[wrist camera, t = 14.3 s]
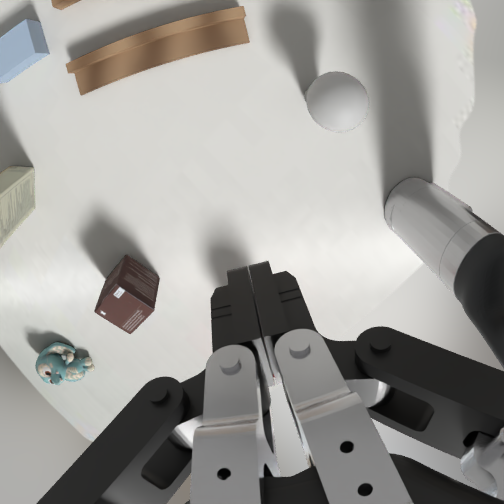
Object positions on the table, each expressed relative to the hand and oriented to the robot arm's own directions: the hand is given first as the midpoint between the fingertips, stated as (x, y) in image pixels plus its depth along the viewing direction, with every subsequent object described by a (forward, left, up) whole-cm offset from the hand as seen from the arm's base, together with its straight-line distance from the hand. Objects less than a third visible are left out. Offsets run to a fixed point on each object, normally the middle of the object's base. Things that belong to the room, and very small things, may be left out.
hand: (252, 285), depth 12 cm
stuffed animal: (+38, +28, -29) cm, 55 cm away
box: (+17, +15, -29) cm, 37 cm away
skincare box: (+27, -3, -29) cm, 40 cm away
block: (+20, -20, -29) cm, 40 cm away
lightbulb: (-12, -3, -29) cm, 31 cm away
